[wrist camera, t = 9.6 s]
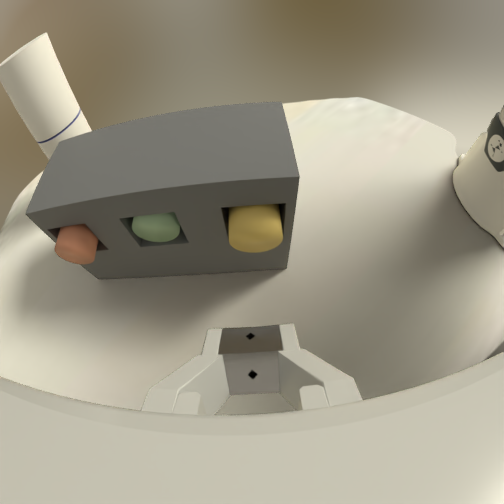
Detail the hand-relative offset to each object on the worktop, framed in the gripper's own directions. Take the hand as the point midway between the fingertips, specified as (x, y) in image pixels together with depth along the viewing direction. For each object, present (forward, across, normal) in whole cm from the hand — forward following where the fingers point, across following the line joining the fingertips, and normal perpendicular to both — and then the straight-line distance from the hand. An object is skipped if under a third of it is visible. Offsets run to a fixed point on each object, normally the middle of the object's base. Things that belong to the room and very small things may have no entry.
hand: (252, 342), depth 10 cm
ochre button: (+14, 0, 0) cm, 14 cm away
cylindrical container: (+31, -24, +7) cm, 39 cm away
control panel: (+23, -8, -1) cm, 24 cm away
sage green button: (+16, -8, +2) cm, 17 cm away
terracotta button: (+14, -16, 0) cm, 21 cm away
